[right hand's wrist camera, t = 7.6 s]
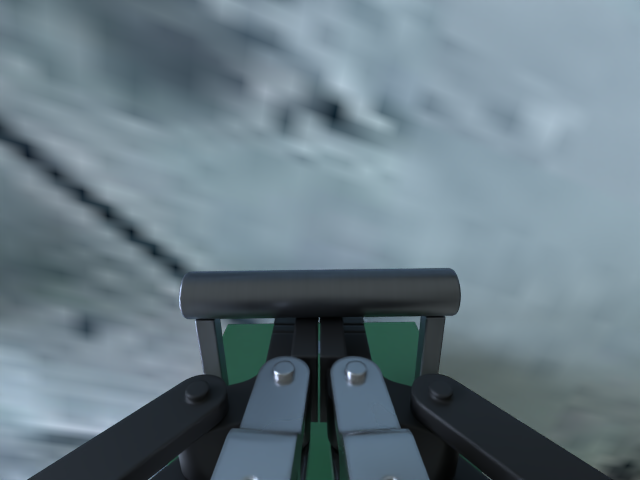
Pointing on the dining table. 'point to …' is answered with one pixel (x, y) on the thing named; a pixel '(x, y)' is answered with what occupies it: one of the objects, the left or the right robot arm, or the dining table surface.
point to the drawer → (319, 301)
